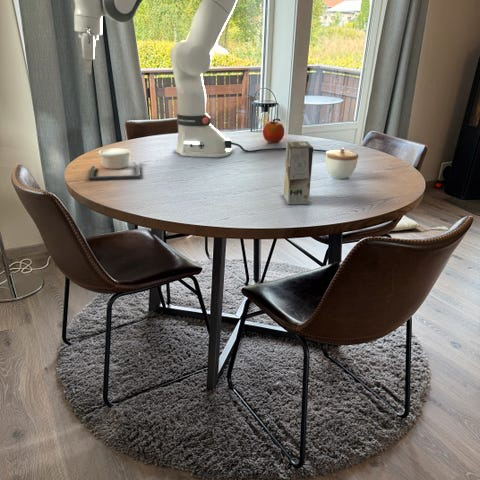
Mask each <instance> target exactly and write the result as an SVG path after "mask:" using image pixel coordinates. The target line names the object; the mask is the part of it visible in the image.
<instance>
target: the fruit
mask: <svg viewBox="0 0 480 480" xmlns="http://www.w3.org/2000/svg"><path fill="white" fill-rule="evenodd" d="M262 136H263V139H264V140H265V141H266V142H267V143H273V144H277V143H279V142H281V141H282V140H283V138H284V136H285V127H284V125H283V124H282V122H281V119H280V118H278V117H276V118H274V119H272V121H267V122H266V123H265V124H264V125H263V128H262Z"/></svg>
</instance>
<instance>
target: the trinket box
mask: <svg viewBox="0 0 480 480" xmlns="http://www.w3.org/2000/svg"><path fill="white" fill-rule="evenodd" d="M358 158H359V153H358V152H356V151H353V150H349V149H348V150H346V149H345V147H341V148H340V149H332V150H328V152H325V169H326V171H327V172H328V174H329V175H330V177H331V178H333V179H338V180H339V179H340V180H342V179H343V180H344V179H345V180H346V179H348V178H349V177H350V176H351V175H352V174H353V173H354V172H355V170H356V168H357V164H358V160H359V159H358Z"/></svg>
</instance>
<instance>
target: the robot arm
mask: <svg viewBox="0 0 480 480" xmlns="http://www.w3.org/2000/svg"><path fill="white" fill-rule="evenodd" d="M73 1H74V13H73V21H74V22H73V24H74V25H73V26H74V27H73V28H74V32H77V34H78V38H79V39H80V41H81V50H82V59H84V62H85V73H86V75H92V69H93V68H92V67H93V61H95V50H96V49H95V48H96V41H99V36H103V17H106V18H108V19H109V20H111V21H115V22H119V23H127V22H129V21H131V20H132V19H133V18H134V17H135V15H136V13H137V12H138V10H139V7H140V5H141V3H142V2H143V1H144V0H73ZM237 2H238V0H201V2H200V4H199V6H198V8H197V10H196V12H195V13H194V15H193V17H192V22H191V26H190V29H189V31H188V35H187V37H186V40H180V41H178V42H177V43H175V44H174V45H173V46H172V48H171V50H170V55H169V57H170V61H171V65H172V72H173V73H172V74H173V78H174V84H175V89H176V102H177V103H176V104H177V113H176V123H177V124H176V125H177V143H176V148H175V152H176V153H177V154H179V155H181V156H182V157H195V158H196V157H197V158H198V157H199V158H224V157H226V156H229V155H231V153H232V146H236V147H239V148H240V149H241V150H242V151H243V152H245V153H256V152H267V151H286V147H271V148H259V149H251V150H248V149H245V148H244V147H243V146H242V145H241V144H239V143H236V142H232V140H231V139H230V138H229V137H225V135H224V134H223V133H221V132H220V131H219V130H218V129H217V128H216V127H214V125H212V121H211V120H212V119H213V116H212V115H209V114H208V113H207V94H206V93H207V92H206V88H205V85H204V79H203V75H204V74H206V73H207V72H208V71H209V70H210V68H211V65H212V58H213V56H214V53H215V51H216V48H217V44H218V41H219V39H220V36H221V35H222V32H223V31H224V29H225V27H226V25H227V23H228V21H229V19H230V17H231V15H232V14H233V11H234V9H235V7H236V4H237ZM328 151H329V150H327V149H317V148H313V152H318V153H319V152H320V153H326V152H328Z"/></svg>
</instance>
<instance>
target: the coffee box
mask: <svg viewBox="0 0 480 480" xmlns="http://www.w3.org/2000/svg"><path fill="white" fill-rule="evenodd" d="M285 148H286V150H285V169H284V185H283V186H284V188H283V197H284V199H285V201H286V204H287V205H308V204H309V202H310V192H311V179H312V167H313V158H314V157H313V155H314V151H313V149H314V147H313V146H312V144H310V142H308V141H307V140H293V141H286V147H285Z"/></svg>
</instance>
